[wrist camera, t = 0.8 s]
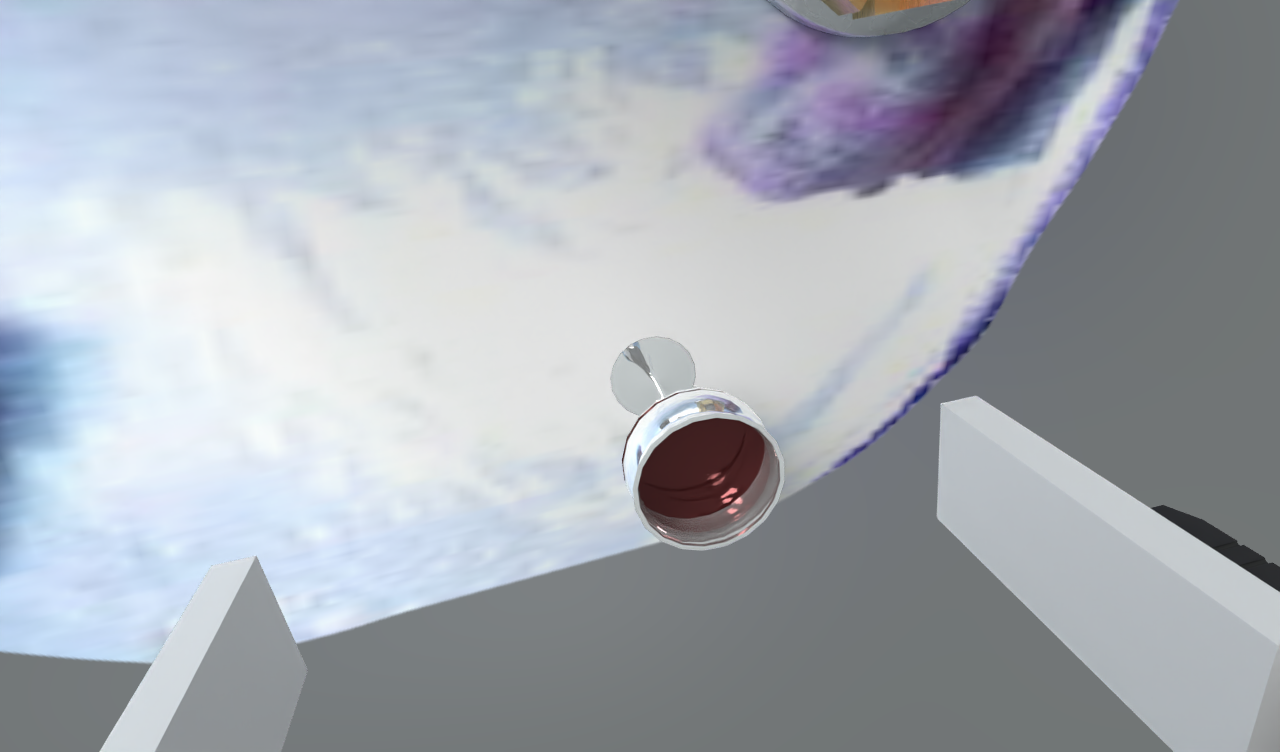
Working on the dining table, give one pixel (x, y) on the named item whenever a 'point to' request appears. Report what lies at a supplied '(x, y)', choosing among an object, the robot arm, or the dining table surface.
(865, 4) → the gold crown
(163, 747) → the robot arm
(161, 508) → the dining table surface
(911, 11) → the silver round piece
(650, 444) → the wineglass
